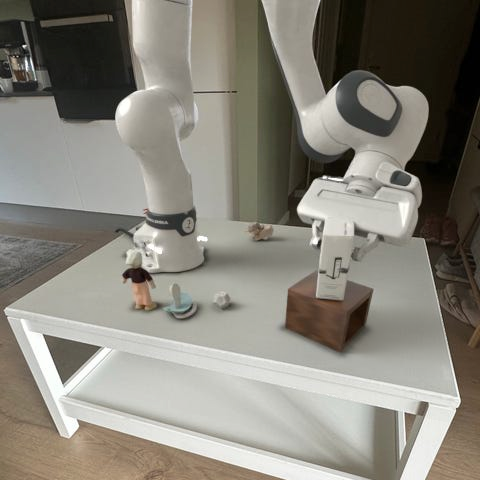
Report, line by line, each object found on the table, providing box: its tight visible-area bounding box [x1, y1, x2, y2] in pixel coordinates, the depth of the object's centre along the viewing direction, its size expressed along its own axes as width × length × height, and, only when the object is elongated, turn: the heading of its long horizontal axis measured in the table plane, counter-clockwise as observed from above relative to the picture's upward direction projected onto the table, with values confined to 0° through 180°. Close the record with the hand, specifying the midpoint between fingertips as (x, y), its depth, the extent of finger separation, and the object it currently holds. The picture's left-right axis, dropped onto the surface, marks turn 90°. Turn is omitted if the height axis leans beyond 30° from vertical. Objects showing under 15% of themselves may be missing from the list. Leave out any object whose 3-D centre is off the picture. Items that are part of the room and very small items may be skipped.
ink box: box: [316, 217, 355, 301], centre depth 62 cm, size 9×5×12 cm, turn 166°
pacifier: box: [162, 282, 198, 319], centre depth 75 cm, size 7×6×6 cm
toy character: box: [244, 221, 274, 241], centre depth 109 cm, size 4×8×6 cm, turn 79°
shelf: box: [284, 269, 375, 354], centre depth 69 cm, size 12×10×9 cm
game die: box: [213, 290, 231, 310], centre depth 78 cm, size 4×4×3 cm
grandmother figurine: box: [121, 250, 157, 311], centre depth 75 cm, size 8×4×13 cm, turn 84°
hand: (334, 253), depth 62 cm, fingers closed on ink box, 6 cm apart
